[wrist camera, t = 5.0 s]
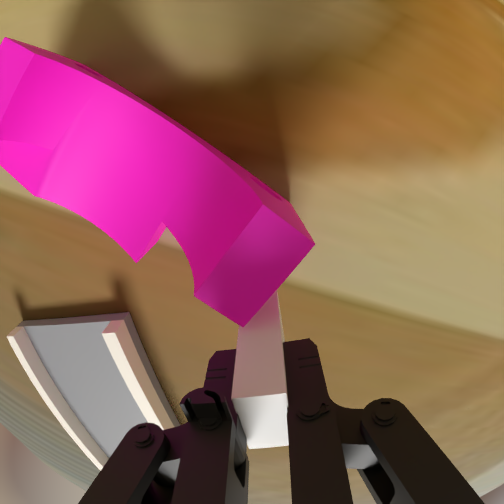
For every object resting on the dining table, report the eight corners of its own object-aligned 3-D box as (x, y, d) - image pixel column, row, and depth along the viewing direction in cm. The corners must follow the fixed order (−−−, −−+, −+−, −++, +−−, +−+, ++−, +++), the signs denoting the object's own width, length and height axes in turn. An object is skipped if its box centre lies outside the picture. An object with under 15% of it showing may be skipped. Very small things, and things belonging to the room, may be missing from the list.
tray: (22, 320, 19) (6, 336, 17) (129, 311, 19) (114, 332, 16) (112, 460, 25) (106, 477, 23) (205, 468, 25) (202, 487, 22)
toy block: (38, 151, 15) (-47, 164, 8) (85, 64, 14) (4, 36, 7) (223, 286, 18) (204, 369, 11) (289, 202, 16) (315, 244, 9)
